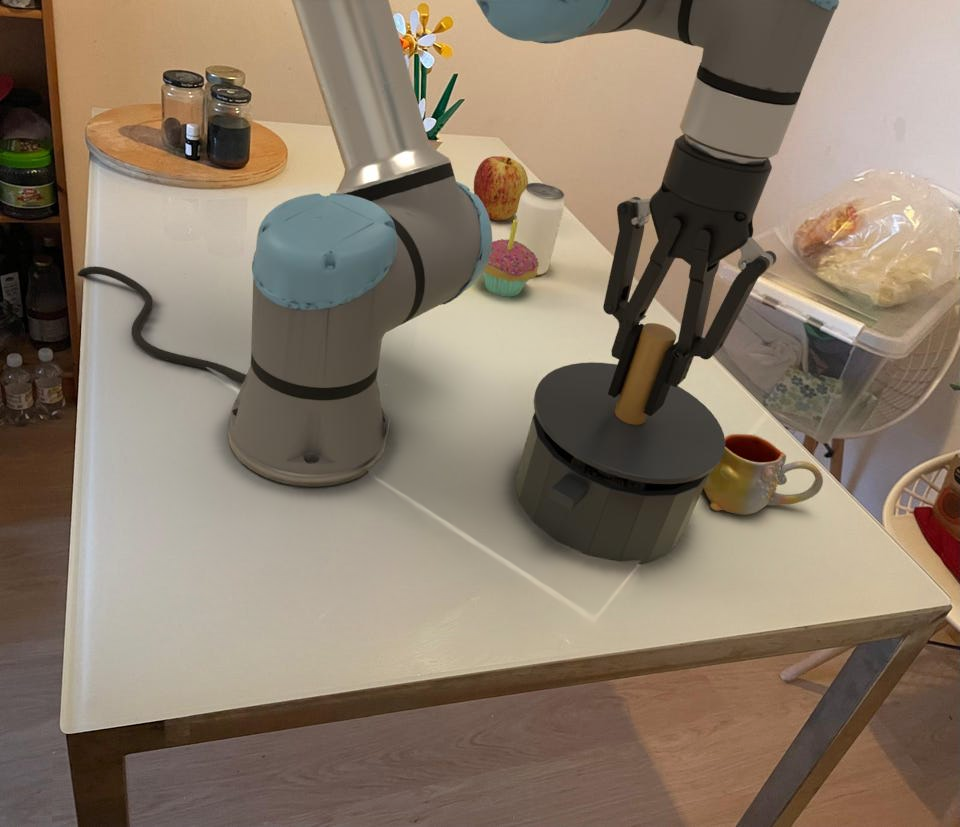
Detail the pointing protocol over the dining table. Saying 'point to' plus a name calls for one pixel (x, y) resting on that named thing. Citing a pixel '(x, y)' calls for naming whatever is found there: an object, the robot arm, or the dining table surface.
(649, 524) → the pot
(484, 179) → the apple
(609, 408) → the lid
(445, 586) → the dining table surface
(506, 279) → the cupcake
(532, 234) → the can
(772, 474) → the mug
